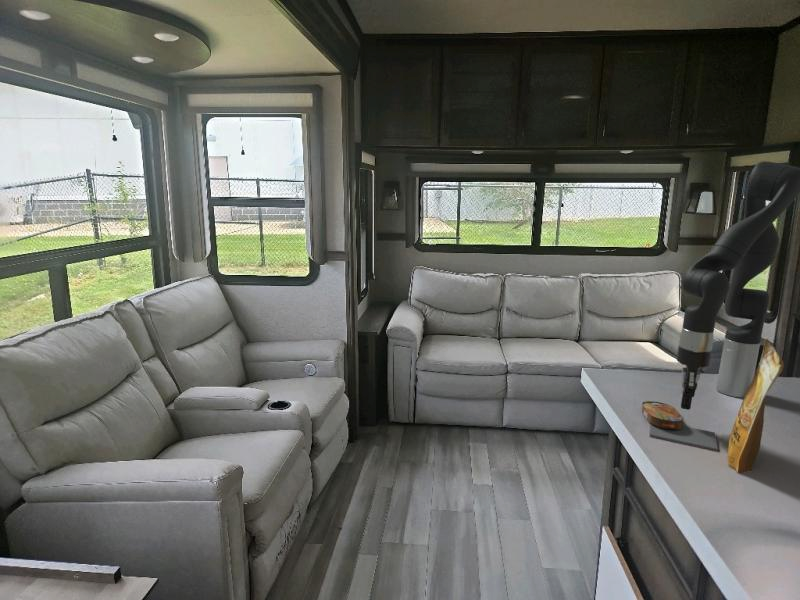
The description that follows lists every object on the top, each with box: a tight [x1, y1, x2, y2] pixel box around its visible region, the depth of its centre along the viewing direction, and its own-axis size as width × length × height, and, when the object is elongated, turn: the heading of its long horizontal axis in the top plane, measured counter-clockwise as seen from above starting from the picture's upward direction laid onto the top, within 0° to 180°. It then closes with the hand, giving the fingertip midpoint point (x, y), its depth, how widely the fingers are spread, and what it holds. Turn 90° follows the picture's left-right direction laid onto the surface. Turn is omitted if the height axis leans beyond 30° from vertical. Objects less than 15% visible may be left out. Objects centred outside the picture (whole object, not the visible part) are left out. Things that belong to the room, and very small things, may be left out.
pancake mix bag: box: [727, 338, 785, 473], centre depth 119 cm, size 7×19×28 cm, turn 146°
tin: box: [641, 400, 684, 429], centre depth 140 cm, size 15×3×8 cm
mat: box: [649, 423, 719, 452], centre depth 133 cm, size 10×15×1 cm, turn 63°
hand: (685, 408), depth 137 cm, fingers closed
